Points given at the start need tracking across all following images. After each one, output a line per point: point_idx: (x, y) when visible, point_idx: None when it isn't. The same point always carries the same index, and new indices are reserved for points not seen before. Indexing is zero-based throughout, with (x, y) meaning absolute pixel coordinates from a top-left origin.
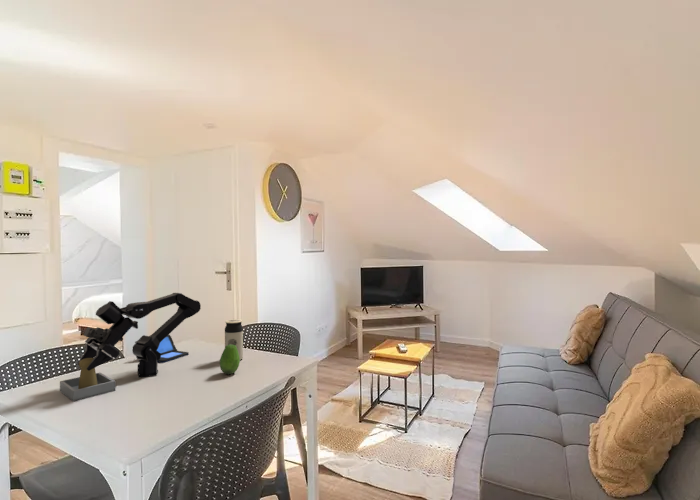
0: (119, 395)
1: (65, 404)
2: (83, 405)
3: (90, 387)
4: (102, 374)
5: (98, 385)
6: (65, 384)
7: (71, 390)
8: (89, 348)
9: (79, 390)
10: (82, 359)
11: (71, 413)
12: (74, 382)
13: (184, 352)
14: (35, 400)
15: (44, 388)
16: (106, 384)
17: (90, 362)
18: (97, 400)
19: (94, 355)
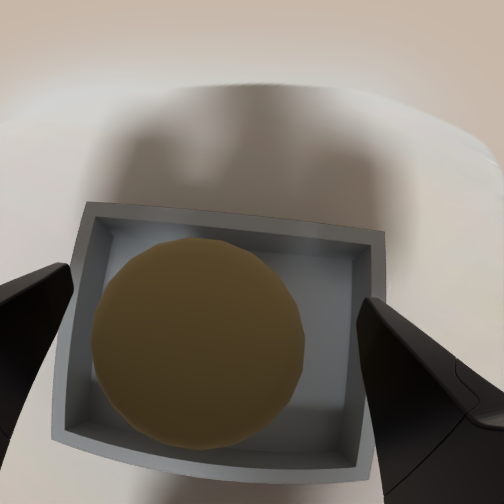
0: None
1: (109, 191)
2: (29, 233)
3: None
4: (295, 479)
5: (59, 339)
6: (274, 222)
7: (124, 206)
8: (485, 470)
9: (80, 232)
10: (242, 281)
11: (9, 177)
12: None
13: None
14: (300, 140)
15: (454, 227)
16: (57, 386)
17: (92, 331)
18: None
19: (392, 497)
